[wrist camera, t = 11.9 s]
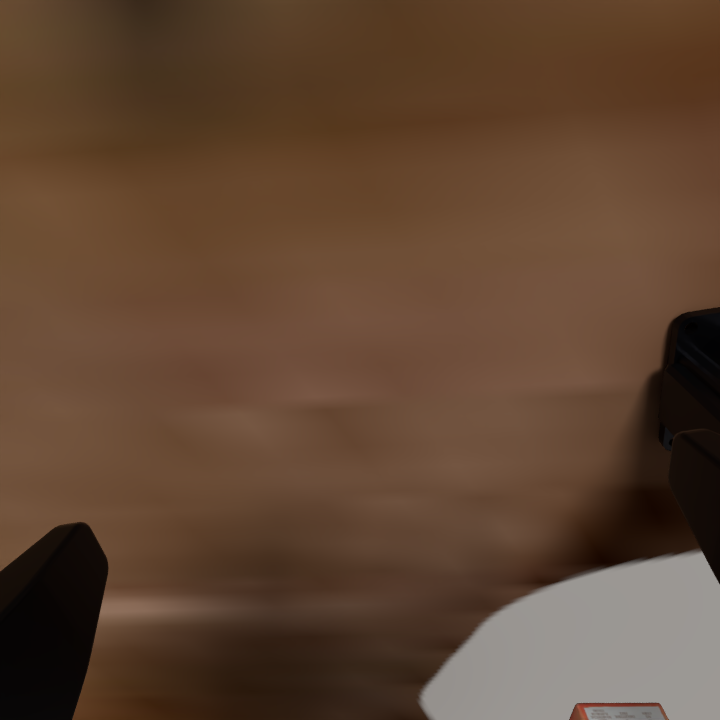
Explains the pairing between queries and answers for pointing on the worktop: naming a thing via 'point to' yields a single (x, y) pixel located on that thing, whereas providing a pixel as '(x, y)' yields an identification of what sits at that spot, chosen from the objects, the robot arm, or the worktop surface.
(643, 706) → the cracker box
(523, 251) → the worktop surface
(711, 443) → the robot arm
